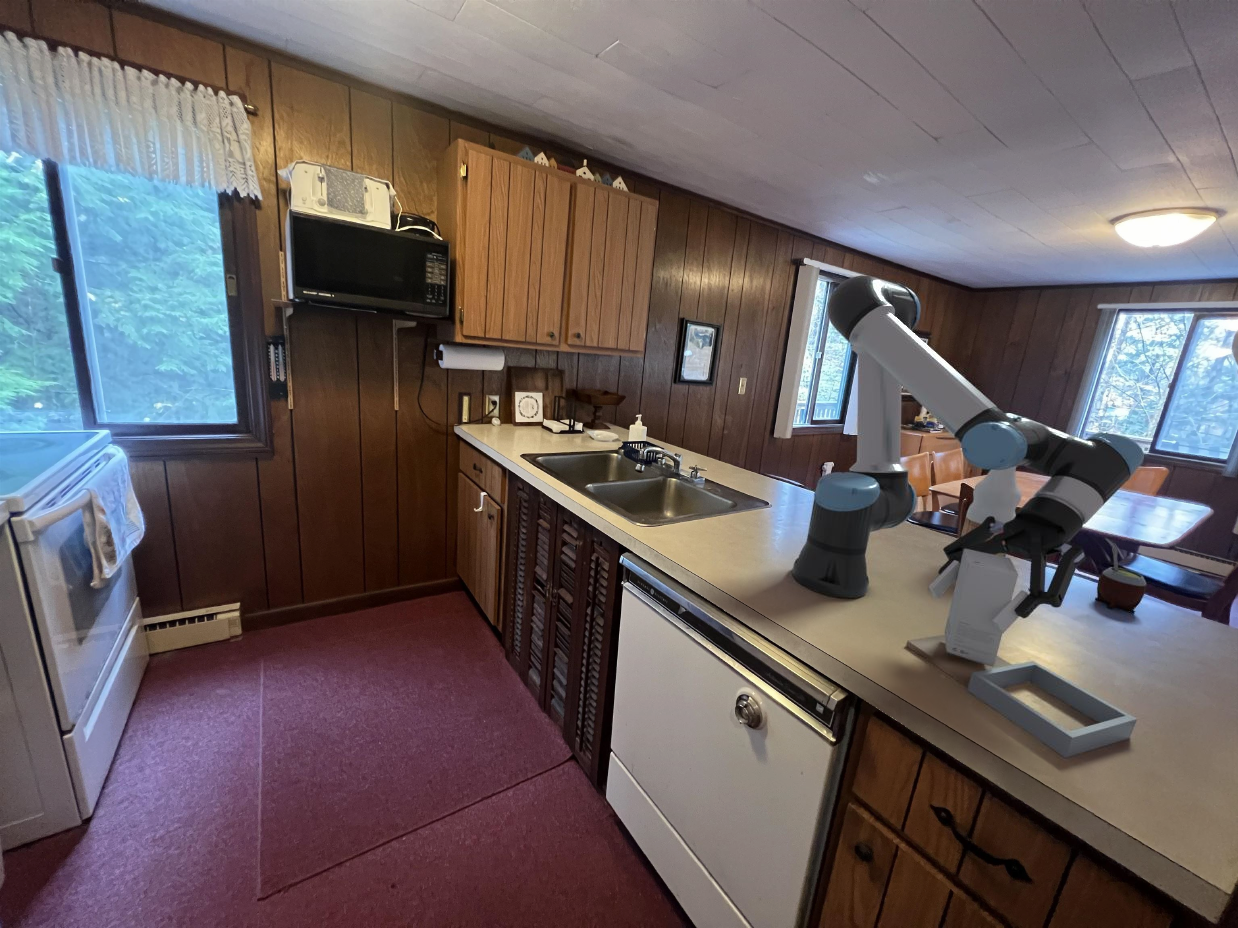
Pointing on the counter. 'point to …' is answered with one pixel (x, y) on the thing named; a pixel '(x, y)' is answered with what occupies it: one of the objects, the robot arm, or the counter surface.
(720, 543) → the counter surface
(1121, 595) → the mate gourd
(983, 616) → the skincare box
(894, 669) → the counter surface
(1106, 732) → the bin
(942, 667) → the coaster
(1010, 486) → the fruit juice
